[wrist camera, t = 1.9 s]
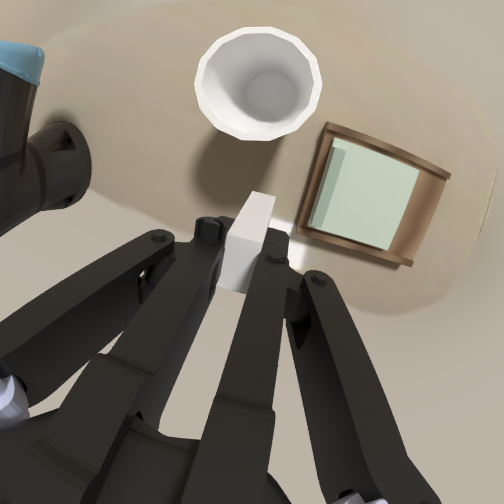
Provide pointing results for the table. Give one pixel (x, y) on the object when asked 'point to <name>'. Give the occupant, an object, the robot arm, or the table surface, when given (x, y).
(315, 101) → the foam cup
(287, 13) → the table surface
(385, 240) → the cover
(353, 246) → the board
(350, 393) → the robot arm
